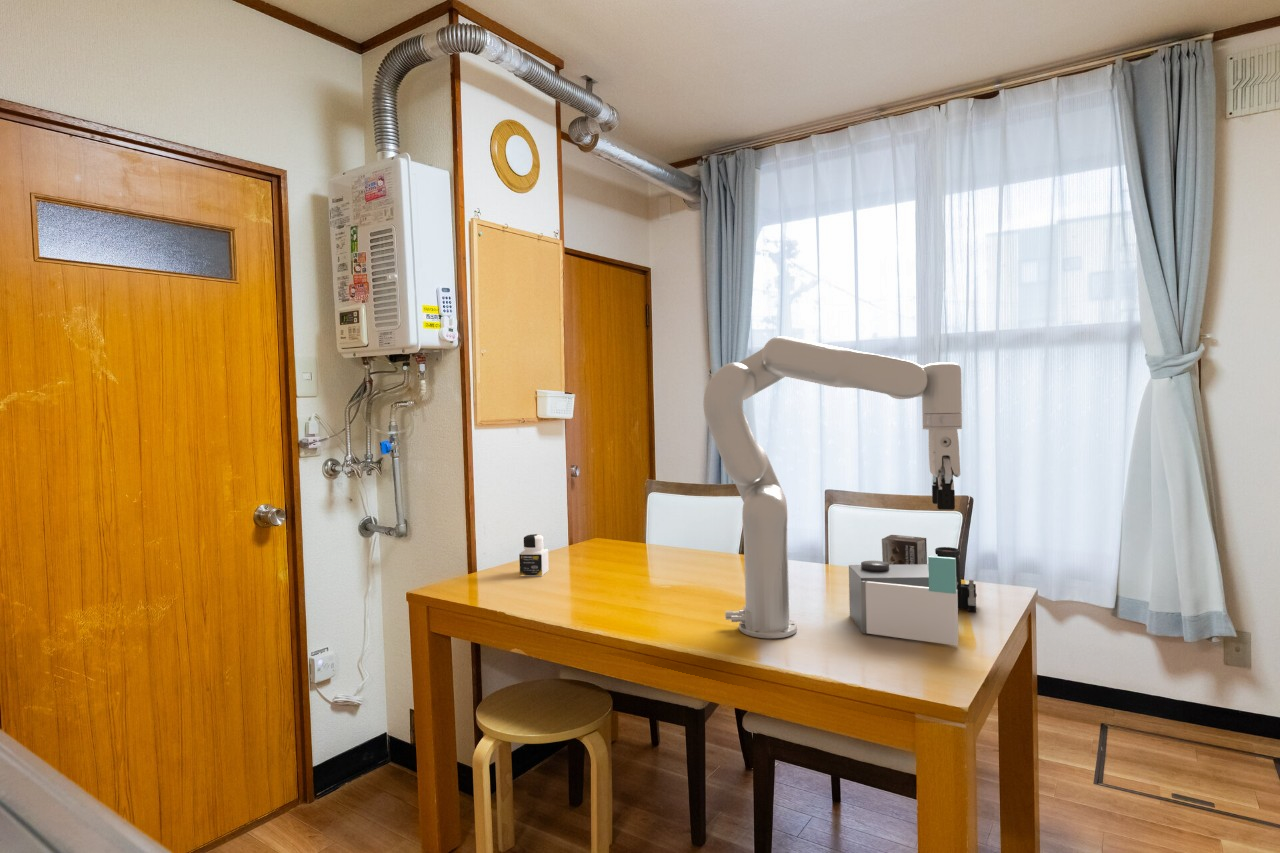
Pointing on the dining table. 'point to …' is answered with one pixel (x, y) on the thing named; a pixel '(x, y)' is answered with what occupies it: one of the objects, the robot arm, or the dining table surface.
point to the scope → (964, 591)
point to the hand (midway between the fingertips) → (943, 505)
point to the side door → (914, 606)
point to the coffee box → (904, 550)
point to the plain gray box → (883, 580)
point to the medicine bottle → (534, 556)
